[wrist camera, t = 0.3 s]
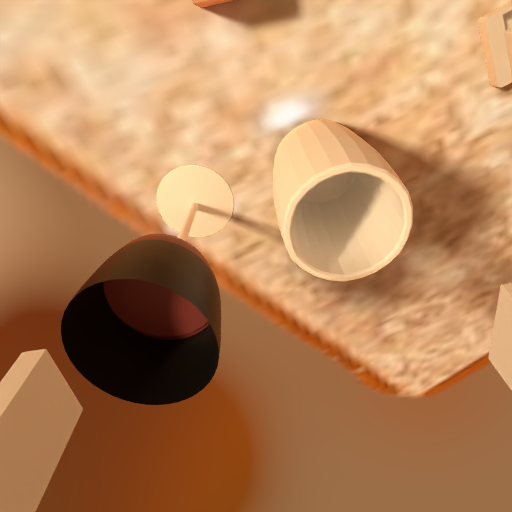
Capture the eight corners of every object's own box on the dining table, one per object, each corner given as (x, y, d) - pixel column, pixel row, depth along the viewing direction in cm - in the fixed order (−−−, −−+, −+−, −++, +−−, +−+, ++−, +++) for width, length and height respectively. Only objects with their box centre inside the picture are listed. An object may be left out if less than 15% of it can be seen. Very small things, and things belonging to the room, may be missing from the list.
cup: (267, 116, 33) (274, 163, 21) (365, 109, 33) (430, 152, 20) (272, 207, 37) (279, 290, 25) (358, 201, 37) (409, 283, 25)
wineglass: (224, 150, 34) (191, 265, 17) (244, 234, 39) (235, 394, 21) (140, 167, 35) (29, 293, 18) (169, 248, 39) (102, 413, 22)
